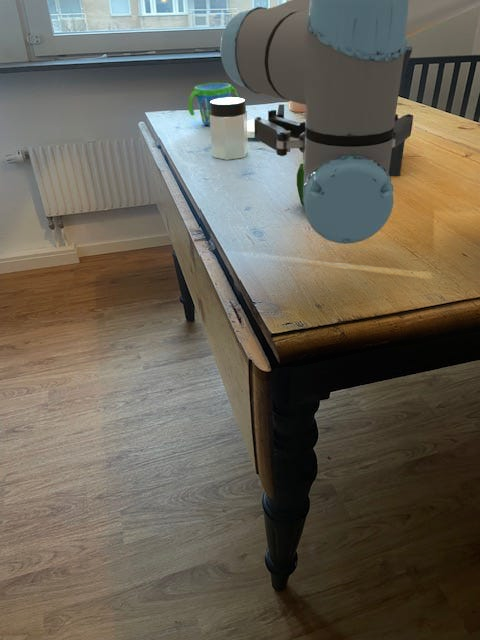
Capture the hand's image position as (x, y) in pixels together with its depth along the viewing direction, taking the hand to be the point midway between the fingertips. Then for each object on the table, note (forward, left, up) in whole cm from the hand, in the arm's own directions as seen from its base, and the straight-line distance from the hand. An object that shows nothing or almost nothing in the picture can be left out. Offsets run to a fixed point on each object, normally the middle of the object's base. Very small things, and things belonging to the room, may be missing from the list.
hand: (329, 113), depth 72 cm
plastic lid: (+61, -18, -18) cm, 66 cm away
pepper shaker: (+82, -43, -18) cm, 94 cm away
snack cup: (+80, -13, -18) cm, 83 cm away
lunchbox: (+27, -27, -18) cm, 42 cm away
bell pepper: (+8, -4, -18) cm, 20 cm away
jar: (+48, -4, -18) cm, 51 cm away
